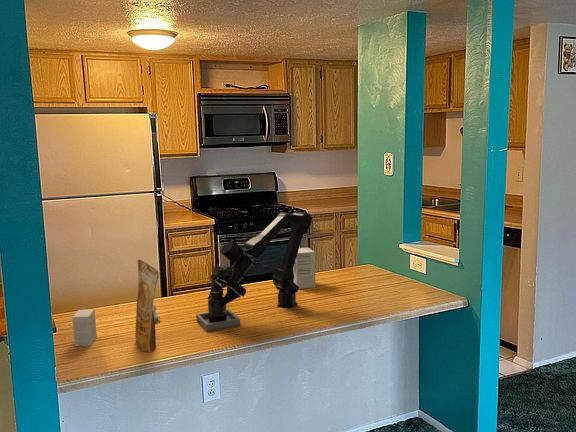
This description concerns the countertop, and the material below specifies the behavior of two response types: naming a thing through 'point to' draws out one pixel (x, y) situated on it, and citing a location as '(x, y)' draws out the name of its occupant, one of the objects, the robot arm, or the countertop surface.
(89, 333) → the small box
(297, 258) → the supplement box
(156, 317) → the pacifier
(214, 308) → the supplement bottle
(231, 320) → the tray
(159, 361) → the countertop surface
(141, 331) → the pancake mix bag
